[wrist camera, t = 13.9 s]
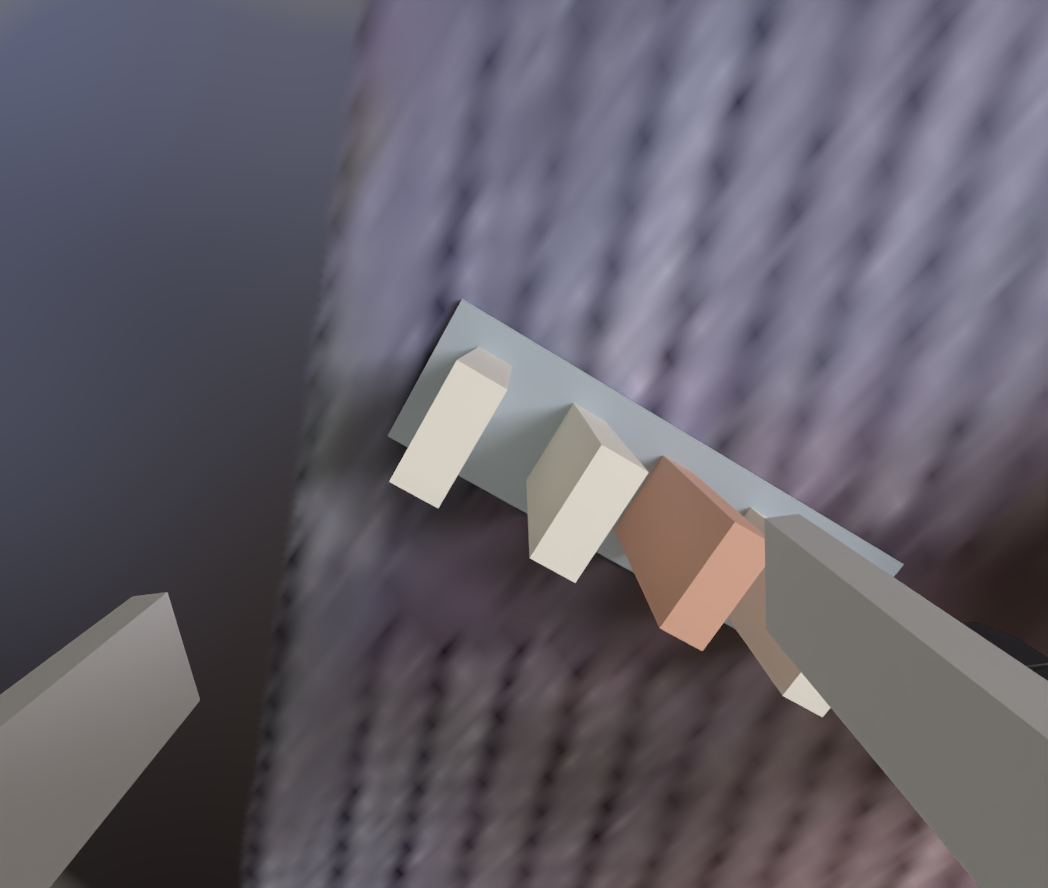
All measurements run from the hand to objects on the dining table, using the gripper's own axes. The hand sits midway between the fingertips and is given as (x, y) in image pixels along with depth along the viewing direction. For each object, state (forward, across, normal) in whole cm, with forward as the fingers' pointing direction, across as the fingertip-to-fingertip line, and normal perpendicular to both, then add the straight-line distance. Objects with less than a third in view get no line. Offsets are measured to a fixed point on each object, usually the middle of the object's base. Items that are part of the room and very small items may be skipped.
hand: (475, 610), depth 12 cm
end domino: (+23, +1, -2) cm, 23 cm away
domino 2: (+23, -10, +7) cm, 26 cm away
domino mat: (+24, -10, +7) cm, 26 cm away
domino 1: (+23, -4, +3) cm, 24 cm away
